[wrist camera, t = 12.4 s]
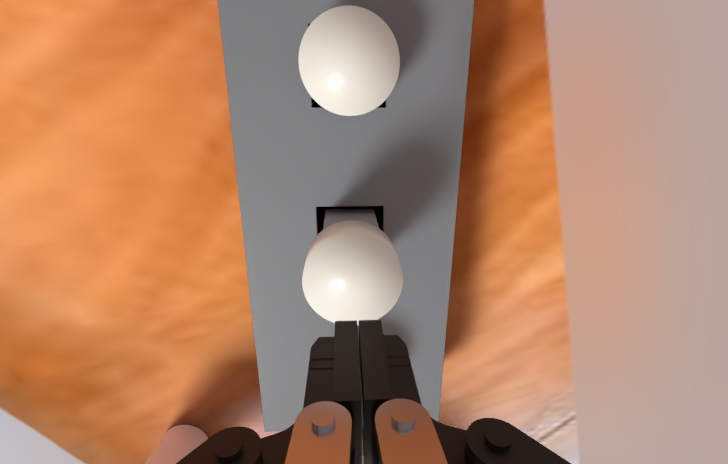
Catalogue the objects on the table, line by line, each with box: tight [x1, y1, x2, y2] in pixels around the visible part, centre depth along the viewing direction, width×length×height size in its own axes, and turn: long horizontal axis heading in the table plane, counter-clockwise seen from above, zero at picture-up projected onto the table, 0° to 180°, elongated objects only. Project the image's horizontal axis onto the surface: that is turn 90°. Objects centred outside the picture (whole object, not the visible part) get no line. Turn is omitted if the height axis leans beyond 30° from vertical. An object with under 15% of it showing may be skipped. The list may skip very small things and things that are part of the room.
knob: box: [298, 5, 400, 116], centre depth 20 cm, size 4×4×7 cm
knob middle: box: [302, 209, 403, 326], centre depth 20 cm, size 4×4×7 cm
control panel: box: [218, 0, 474, 432], centre depth 24 cm, size 28×12×5 cm, turn 0°
